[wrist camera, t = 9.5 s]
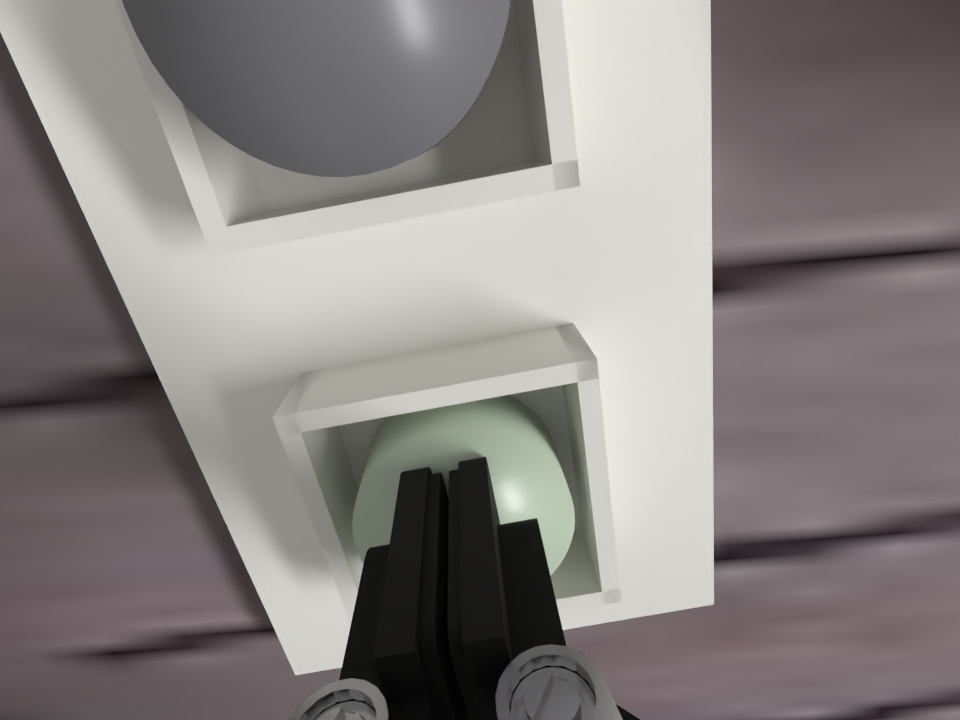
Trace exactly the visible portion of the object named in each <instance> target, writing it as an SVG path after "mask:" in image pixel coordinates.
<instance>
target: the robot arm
mask: <svg viewBox="0 0 960 720" xmlns="http://www.w3.org/2000/svg"><path fill="white" fill-rule="evenodd" d="M458 467H459V469H457V470H451V471H449V499H448V495H447V491H446V487H445V483H444V479H443V476H442V473H441V472H440V473H434V474H432V471H431V469H430V467H425V468H420V469H414V470H409V471H403V472H401V474H400V480H399V486H398V493H397V499H396V506H395V512H394V519H393V525H392V532H391V538H390V544H387V545H381V546H375V547H370V548H369V549H368V550H367V552H366V556H365V559H364V564H363V569H362V574H361V579H360V583H359V588H358V593H357V598H356V603H355V607H354V612H353V617H352V622H351V626H350V631H349V636H348V641H347V646H346V650H345V655H344V660H343V665H342V670H341V674H340V679H339V680H338V681H334V682H332V683H330V684H328V685H326V686H324V687H321V688H319V689H318V690H317V691H316V692H314V693H313V694H312V695H310V696H309V697H308V698H306V699H305V700H304V701H303V702H302V703H301V705H300V706H299V707H298V708H297V709H296V710H295V711H294V713H293V714H292V715H291V717H290V719H289V720H640V719H638V718H637V717H635V716H633V715H632V714H630V713H629V712H627V711H626V710H624V709H623V708H621V707H620V706H618V705H616V704H615V701H614V699H613V697H612V695H611V693H610V690H609V688H608V686H607V684H606V682H605V679H604V677H603V676H602V674H601V673H600V671H599V670H598V668H597V667H596V665H595V664H594V663H593V662H592V661H591V660H590V659H588V658H587V657H586V656H585V655H584V654H582V653H581V652H579V651H576V650H574V649H572V648H569V647H567V646H566V643H565V638H564V634H563V629H562V625H561V621H560V616H559V612H558V607H557V603H556V599H555V594H554V590H553V585H552V581H551V577H550V572H549V568H548V563H547V559H546V554H545V550H544V546H543V541H542V537H541V532H540V528H539V524H538V520H537V518H534V519H529V520H523V521H517V522H512V523H506V524H500V521H499V516H498V511H497V506H496V501H495V497H494V492H493V487H492V482H491V477H490V472H489V467H488V462H487V458H486V457H481V458H476V459H470V460H465V461H459V465H458Z"/></svg>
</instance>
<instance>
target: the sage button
mask: <svg viewBox="0 0 960 720" xmlns="http://www.w3.org/2000/svg"><path fill="white" fill-rule="evenodd" d="M481 457H486V458H487V462H488V467H489V472H490V477H491V482H492V487H493V492H494V497H495V501H496V506H497V511H498V516H499V521H500V524H506V523H512V522H517V521H523V520H529V519H534V518H537V520H538V524H539V528H540V532H541V537H542V541H543V546H544V550H545V554H546V559H547V563H548V568H549V572H550V576H551V575H552V574H553V573H554V571H555V570H556V569H557V568H558V567H559V565H560V564H561V562H562V561H563V559H564V557H565V556H566V554H567V552H568V549H569V547H570V545H571V541H572V538H573V534H574V526H575V511H574V506H573V501H572V497H571V494H570V491H569V488H568V485H567V482H566V479H565V476H564V473H563V470H562V467H561V464H560V461H559V458H558V455H557V452H556V449H555V446H554V443H553V441H552V438H551V436H550V433H549V432H548V430H547V428H546V426H545V425H544V423H543V422H542V421H541V420H540V418H539V417H538V416H537V415H536V414H535V413H534V412H533V411H532V410H531V409H530V408H529V407H527V406H526V405H525V404H523V403H522V402H520V401H519V400H517V399H515V398H513V397H511V396H510V395H505V396H499V397H494V398H488V399H482V400H477V401H471V402H466V403H460V404H455V405H449V406H444V407H438V408H433V409H427V410H422V411H416V412H411V413H405V414H400V415H394V416H389V417H388V418H387V419H386V420H385V421H384V422H383V424H382V425H381V426H380V428H379V430H378V431H377V433H376V435H375V437H374V439H373V442H372V444H371V447H370V451H369V454H368V458H367V462H366V465H365V469H364V473H363V477H362V480H361V484H360V488H359V491H358V495H357V499H356V502H355V506H354V511H353V518H352V530H353V538H354V542H355V546H356V549H357V551H358V554H359V556H360V558H361V560H362V562H363V563H364V559H365V556H366V552H367V550H368V549H369V548H370V547H375V546H381V545H387V544H390V538H391V532H392V525H393V519H394V512H395V506H396V499H397V493H398V486H399V480H400V474H401V472H403V471H409V470H414V469H420V468H425V467H430V469H431V471H432V474H434V473H440V472H441V473H442V476H443V479H444V483H445V487H446V491H447V495H448V499H449V471H451V470H457V469H459V467H458V465H459V461H465V460H470V459H476V458H481Z"/></svg>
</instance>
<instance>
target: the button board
mask: <svg viewBox="0 0 960 720" xmlns="http://www.w3.org/2000/svg"><path fill="white" fill-rule="evenodd" d="M0 32H1V35H2V37H3V39H4V41H5V43H6V45H7V48H8V50H9V52H10V54H11V56H12V59H13V61H14V63H15V65H16V67H17V69H18V72H19V74H20V76H21V78H22V80H23V83H24V85H25V87H26V89H27V91H28V93H29V96H30V98H31V100H32V102H33V104H34V106H35V109H36V111H37V113H38V115H39V117H40V120H41V122H42V124H43V126H44V128H45V130H46V133H47V135H48V137H49V139H50V141H51V144H52V146H53V148H54V150H55V152H56V154H57V157H58V159H59V161H60V163H61V165H62V168H63V170H64V172H65V174H66V176H67V178H68V181H69V183H70V185H71V187H72V189H73V191H74V194H75V196H76V198H77V200H78V202H79V205H80V207H81V209H82V211H83V213H84V215H85V218H86V220H87V222H88V224H89V226H90V229H91V231H92V233H93V235H94V237H95V239H96V242H97V244H98V246H99V248H100V250H101V252H102V255H103V257H104V259H105V261H106V263H107V266H108V268H109V270H110V272H111V274H112V276H113V279H114V281H115V283H116V285H117V287H118V290H119V292H120V294H121V296H122V298H123V300H124V303H125V305H126V307H127V309H128V311H129V314H130V316H131V318H132V320H133V322H134V324H135V327H136V329H137V331H138V333H139V335H140V337H141V340H142V342H143V344H144V346H145V348H146V351H147V353H148V355H149V357H150V359H151V361H152V364H153V366H154V368H155V370H156V372H157V375H158V377H159V379H160V381H161V383H162V385H163V388H164V390H165V392H166V394H167V396H168V398H169V401H170V403H171V405H172V407H173V409H174V412H175V414H176V416H177V418H178V420H179V422H180V425H181V427H182V429H183V431H184V433H185V436H186V438H187V440H188V442H189V444H190V446H191V449H192V451H193V453H194V455H195V457H196V460H197V462H198V464H199V466H200V468H201V470H202V473H203V475H204V477H205V479H206V481H207V483H208V486H209V488H210V490H211V492H212V494H213V497H214V499H215V501H216V503H217V505H218V507H219V510H220V512H221V514H222V516H223V518H224V521H225V523H226V525H227V527H228V529H229V531H230V534H231V536H232V538H233V540H234V542H235V545H236V547H237V549H238V551H239V553H240V555H241V558H242V560H243V562H244V564H245V566H246V568H247V571H248V573H249V575H250V577H251V579H252V582H253V584H254V586H255V588H256V590H257V592H258V595H259V597H260V599H261V601H262V603H263V606H264V608H265V610H266V612H267V614H268V616H269V619H270V621H271V623H272V625H273V627H274V629H275V632H276V634H277V636H278V638H279V640H280V643H281V645H282V647H283V649H284V651H285V653H286V656H287V658H288V660H289V662H290V664H291V667H292V669H293V671H294V673H295V675H300V674H306V673H312V672H318V671H323V670H329V669H335V668H341V667H342V665H343V660H344V655H345V650H346V646H347V641H348V636H349V631H350V626H351V622H352V617H353V612H354V607H355V603H356V598H357V593H358V588H359V583H360V579H361V574H362V569H363V564H364V563H363V562H362V560H361V558H360V556H359V554H358V551H357V549H356V546H355V542H354V538H353V530H352V518H353V511H354V506H355V502H356V499H357V495H358V491H359V488H360V484H361V480H362V477H363V473H364V469H365V465H366V462H367V458H368V454H369V451H370V447H371V444H372V442H373V439H374V437H375V435H376V433H377V431H378V430H379V428H380V426H381V425H382V424H383V422H384V421H385V420H386V419H387V418H388V417H389V416H394V415H400V414H405V413H411V412H416V411H422V410H427V409H433V408H438V407H444V406H449V405H455V404H460V403H466V402H471V401H477V400H482V399H488V398H494V397H499V396H505V395H510V396H511V397H513V398H515V399H517V400H519V401H520V402H522V403H523V404H525V405H526V406H527V407H529V408H530V409H531V410H532V411H533V412H534V413H535V414H536V415H537V416H538V417H539V418H540V420H541V421H542V422H543V423H544V425H545V426H546V428H547V430H548V432H549V433H550V436H551V438H552V441H553V443H554V446H555V449H556V452H557V455H558V458H559V461H560V464H561V467H562V470H563V473H564V476H565V479H566V482H567V485H568V488H569V491H570V494H571V497H572V501H573V506H574V511H575V526H574V534H573V538H572V541H571V545H570V547H569V549H568V552H567V554H566V556H565V557H564V559H563V561H562V562H561V564H560V565H559V567H558V568H557V569H556V570H555V571H554V573H553V574H552V575H551V576H550V577H551V581H552V585H553V590H554V594H555V599H556V603H557V607H558V612H559V616H560V621H561V625H562V629H563V630H566V629H571V628H577V627H583V626H589V625H595V624H601V623H607V622H613V621H619V620H625V619H630V618H636V617H642V616H648V615H654V614H660V613H666V612H672V611H678V610H684V609H690V608H695V607H701V606H707V605H713V604H714V522H713V339H712V157H711V0H511V1H510V8H509V14H508V20H507V24H506V28H505V32H504V36H503V39H502V43H501V47H500V49H499V52H498V55H497V57H496V60H495V62H494V65H493V67H492V70H491V72H490V74H489V76H488V78H487V80H486V82H485V84H484V86H483V88H482V89H481V91H480V93H479V95H478V97H477V99H476V101H475V102H474V104H473V106H472V107H471V109H470V110H469V112H468V113H467V114H466V116H465V117H464V119H463V120H462V121H461V122H460V124H459V125H458V126H457V127H456V128H455V129H454V130H453V131H452V132H451V133H450V134H449V135H448V136H447V137H446V138H444V139H443V140H442V141H441V142H440V143H438V144H437V145H436V146H435V147H433V148H431V149H430V150H428V151H426V152H425V153H423V154H421V155H420V156H418V157H416V158H413V159H411V160H408V161H406V162H404V163H401V164H399V165H396V166H394V167H391V168H389V169H385V170H381V171H377V172H374V173H370V174H365V175H357V176H349V177H321V176H314V175H308V174H301V173H296V172H293V171H289V170H286V169H282V168H279V167H276V166H273V165H271V164H268V163H266V162H264V161H261V160H259V159H257V158H254V157H252V156H250V155H249V154H247V153H245V152H243V151H242V150H240V149H238V148H237V147H235V146H233V145H231V144H230V143H228V142H227V141H226V140H224V139H223V138H222V137H220V136H219V135H218V134H216V133H215V132H213V131H212V130H211V129H209V128H208V127H207V126H206V125H205V124H204V123H203V122H202V121H201V120H199V119H198V118H197V117H196V116H195V115H194V114H193V113H192V112H191V111H190V110H189V109H188V108H187V107H186V106H185V105H184V104H183V103H182V101H181V100H180V99H179V98H178V97H177V96H176V95H175V93H174V92H173V91H172V90H171V89H170V88H169V86H168V85H167V84H166V82H165V81H164V79H163V78H162V76H161V75H160V74H159V72H158V71H157V69H156V68H155V67H154V65H153V64H152V62H151V60H150V59H149V57H148V55H147V53H146V52H145V50H144V48H143V46H142V44H141V43H140V41H139V39H138V37H137V35H136V33H135V31H134V29H133V26H132V24H131V22H130V19H129V17H128V15H127V12H126V10H125V8H124V5H123V2H122V0H0Z"/></svg>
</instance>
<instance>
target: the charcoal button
mask: <svg viewBox="0 0 960 720" xmlns="http://www.w3.org/2000/svg"><path fill="white" fill-rule="evenodd" d="M510 1H511V0H122V2H123V5H124V8H125V10H126V12H127V15H128V17H129V19H130V22H131V24H132V26H133V29H134V31H135V33H136V35H137V37H138V39H139V41H140V43H141V44H142V46H143V48H144V50H145V52H146V53H147V55H148V57H149V59H150V60H151V62H152V64H153V65H154V67H155V68H156V69H157V71H158V72H159V74H160V75H161V76H162V78H163V79H164V81H165V82H166V84H167V85H168V86H169V88H170V89H171V90H172V91H173V92H174V93H175V95H176V96H177V97H178V98H179V99H180V100H181V101H182V103H183V104H184V105H185V106H186V107H187V108H188V109H189V110H190V111H191V112H192V113H193V114H194V115H195V116H196V117H197V118H198V119H199V120H201V121H202V122H203V123H204V124H205V125H206V126H207V127H208V128H209V129H211V130H212V131H213V132H215V133H216V134H218V135H219V136H220V137H222V138H223V139H224V140H226V141H227V142H228V143H230V144H231V145H233V146H235V147H237V148H238V149H240V150H242V151H243V152H245V153H247V154H249V155H250V156H252V157H254V158H257V159H259V160H261V161H264V162H266V163H268V164H271V165H273V166H276V167H279V168H282V169H286V170H289V171H293V172H296V173H301V174H308V175H314V176H321V177H349V176H357V175H365V174H370V173H374V172H377V171H381V170H385V169H389V168H391V167H394V166H396V165H399V164H401V163H404V162H406V161H408V160H411V159H413V158H416V157H418V156H420V155H421V154H423V153H425V152H426V151H428V150H430V149H431V148H433V147H435V146H436V145H437V144H438V143H440V142H441V141H442V140H443V139H444V138H446V137H447V136H448V135H449V134H450V133H451V132H452V131H453V130H454V129H455V128H456V127H457V126H458V125H459V124H460V122H461V121H462V120H463V119H464V117H465V116H466V114H467V113H468V112H469V110H470V109H471V107H472V106H473V104H474V102H475V101H476V99H477V97H478V95H479V93H480V91H481V89H482V88H483V86H484V84H485V82H486V80H487V78H488V76H489V74H490V72H491V70H492V67H493V65H494V62H495V60H496V57H497V55H498V52H499V49H500V47H501V43H502V39H503V36H504V32H505V28H506V24H507V20H508V14H509V8H510Z"/></svg>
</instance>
